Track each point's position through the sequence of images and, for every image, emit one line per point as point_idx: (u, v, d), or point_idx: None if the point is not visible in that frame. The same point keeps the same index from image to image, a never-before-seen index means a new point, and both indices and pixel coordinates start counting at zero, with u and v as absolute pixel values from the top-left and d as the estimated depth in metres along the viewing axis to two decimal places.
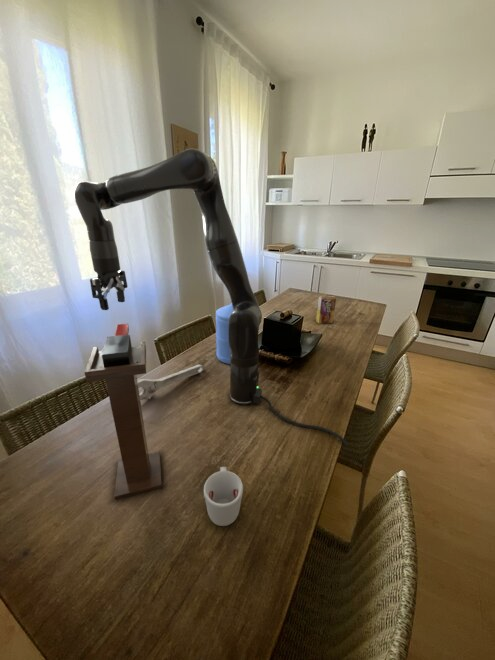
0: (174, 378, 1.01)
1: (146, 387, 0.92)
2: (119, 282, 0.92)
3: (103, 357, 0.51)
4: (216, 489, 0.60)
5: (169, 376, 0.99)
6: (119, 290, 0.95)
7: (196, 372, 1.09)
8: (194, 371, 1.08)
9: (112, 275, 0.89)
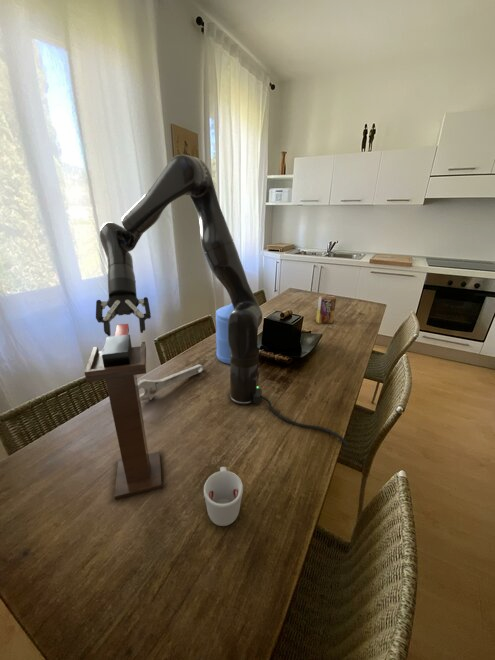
0: (175, 378, 1.00)
1: (147, 388, 0.91)
2: (132, 306, 0.80)
3: (103, 357, 0.51)
4: (216, 489, 0.60)
5: (170, 376, 0.99)
6: (139, 318, 0.81)
7: (196, 372, 1.09)
8: (194, 371, 1.08)
9: (124, 299, 0.81)
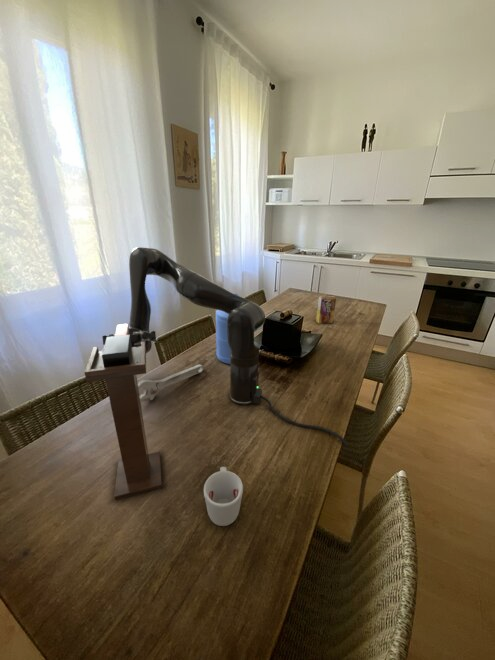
0: (175, 378, 1.00)
1: (148, 388, 0.91)
2: (139, 332, 0.84)
3: (103, 357, 0.51)
4: (216, 489, 0.60)
5: (170, 377, 0.99)
6: None
7: (196, 372, 1.09)
8: (194, 371, 1.08)
9: None
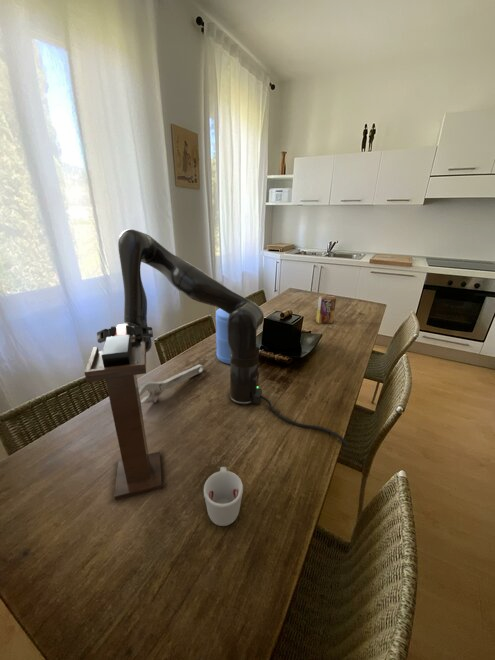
0: (177, 379, 1.00)
1: (152, 390, 0.90)
2: None
3: (103, 357, 0.51)
4: (216, 489, 0.60)
5: (173, 378, 0.98)
6: None
7: (197, 372, 1.09)
8: (195, 371, 1.08)
9: None
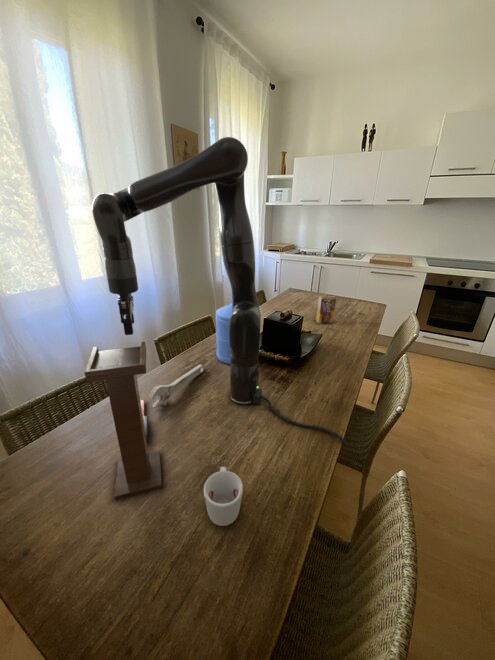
0: (183, 381, 0.99)
1: (162, 393, 0.89)
2: None
3: None
4: (216, 489, 0.60)
5: (179, 379, 0.97)
6: None
7: (199, 372, 1.09)
8: (197, 371, 1.08)
9: (129, 295, 0.80)
